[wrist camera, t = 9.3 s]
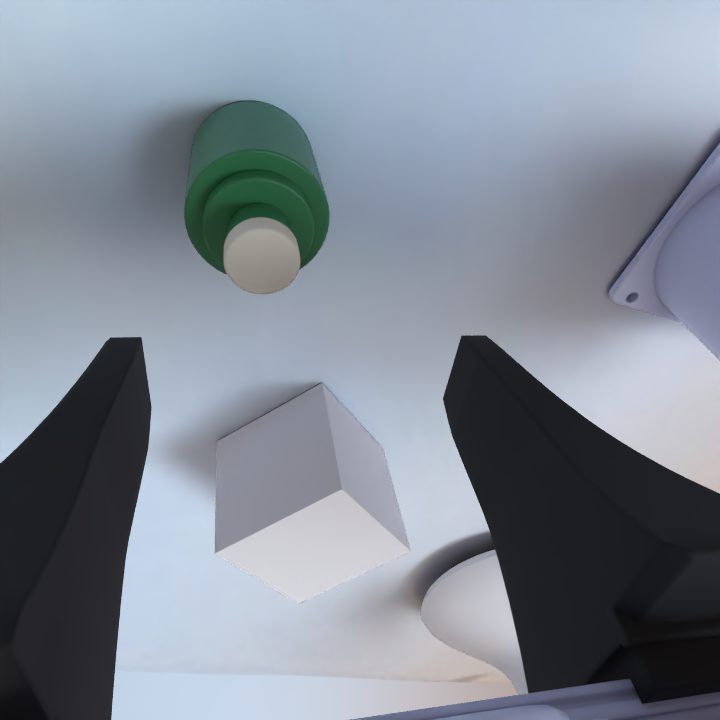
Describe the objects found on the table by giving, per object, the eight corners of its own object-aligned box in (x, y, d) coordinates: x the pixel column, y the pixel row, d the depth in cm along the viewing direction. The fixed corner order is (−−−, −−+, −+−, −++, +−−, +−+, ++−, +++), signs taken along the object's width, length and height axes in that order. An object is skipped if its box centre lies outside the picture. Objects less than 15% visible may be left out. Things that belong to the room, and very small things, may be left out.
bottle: (329, 124, 19) (365, 214, 14) (292, 231, 21) (312, 340, 16) (205, 81, 17) (198, 164, 13) (180, 200, 20) (165, 310, 15)
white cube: (321, 381, 26) (342, 488, 22) (383, 448, 30) (411, 551, 25) (215, 441, 27) (214, 554, 23) (287, 498, 31) (298, 605, 27)
